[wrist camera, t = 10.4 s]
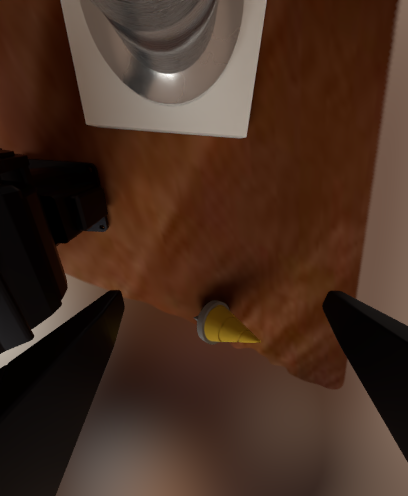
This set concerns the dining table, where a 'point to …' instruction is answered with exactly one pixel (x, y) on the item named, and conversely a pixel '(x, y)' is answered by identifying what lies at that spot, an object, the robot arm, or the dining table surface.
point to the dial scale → (167, 75)
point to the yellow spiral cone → (221, 325)
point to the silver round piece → (172, 40)
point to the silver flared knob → (146, 12)
